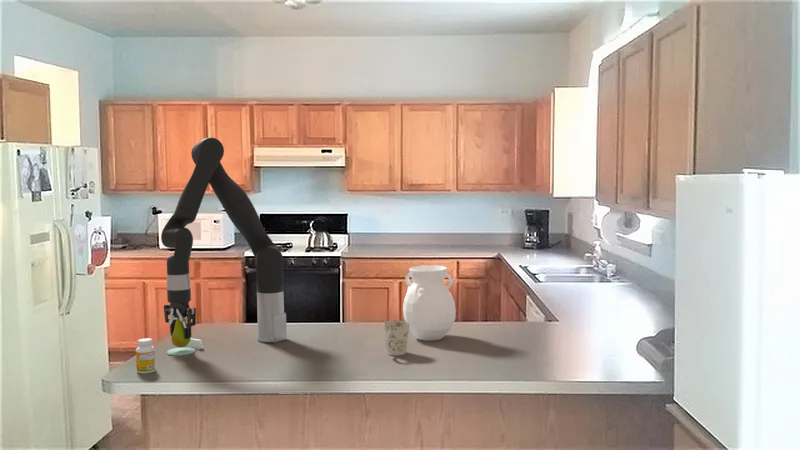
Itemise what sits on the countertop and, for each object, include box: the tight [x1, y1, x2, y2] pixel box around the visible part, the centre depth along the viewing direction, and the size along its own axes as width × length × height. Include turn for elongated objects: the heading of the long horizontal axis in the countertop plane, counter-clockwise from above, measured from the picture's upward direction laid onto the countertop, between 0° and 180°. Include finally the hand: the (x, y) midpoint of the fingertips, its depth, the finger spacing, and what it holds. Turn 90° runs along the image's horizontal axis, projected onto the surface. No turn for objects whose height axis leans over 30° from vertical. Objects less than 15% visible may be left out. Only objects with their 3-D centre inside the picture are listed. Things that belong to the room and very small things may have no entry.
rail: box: [185, 337, 205, 351], centre depth 257 cm, size 10×2×3 cm, turn 54°
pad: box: [166, 347, 196, 357], centre depth 250 cm, size 9×9×1 cm
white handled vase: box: [402, 264, 457, 342], centre depth 266 cm, size 19×18×25 cm
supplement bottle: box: [135, 337, 156, 375], centre depth 227 cm, size 5×5×10 cm
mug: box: [383, 320, 410, 357], centre depth 243 cm, size 8×13×10 cm, turn 161°
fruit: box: [170, 318, 192, 348], centre depth 250 cm, size 6×6×12 cm
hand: (180, 337), depth 250 cm, fingers closed on fruit, 6 cm apart
